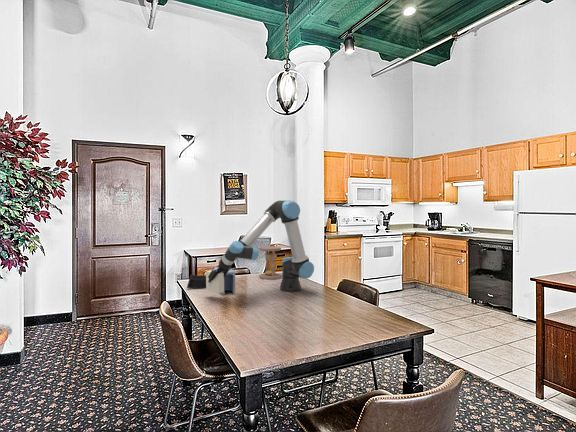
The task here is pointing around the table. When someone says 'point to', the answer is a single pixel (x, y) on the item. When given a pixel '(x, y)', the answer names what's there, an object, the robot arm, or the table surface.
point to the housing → (229, 282)
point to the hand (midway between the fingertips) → (211, 284)
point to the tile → (215, 283)
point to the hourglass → (270, 257)
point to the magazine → (197, 281)
